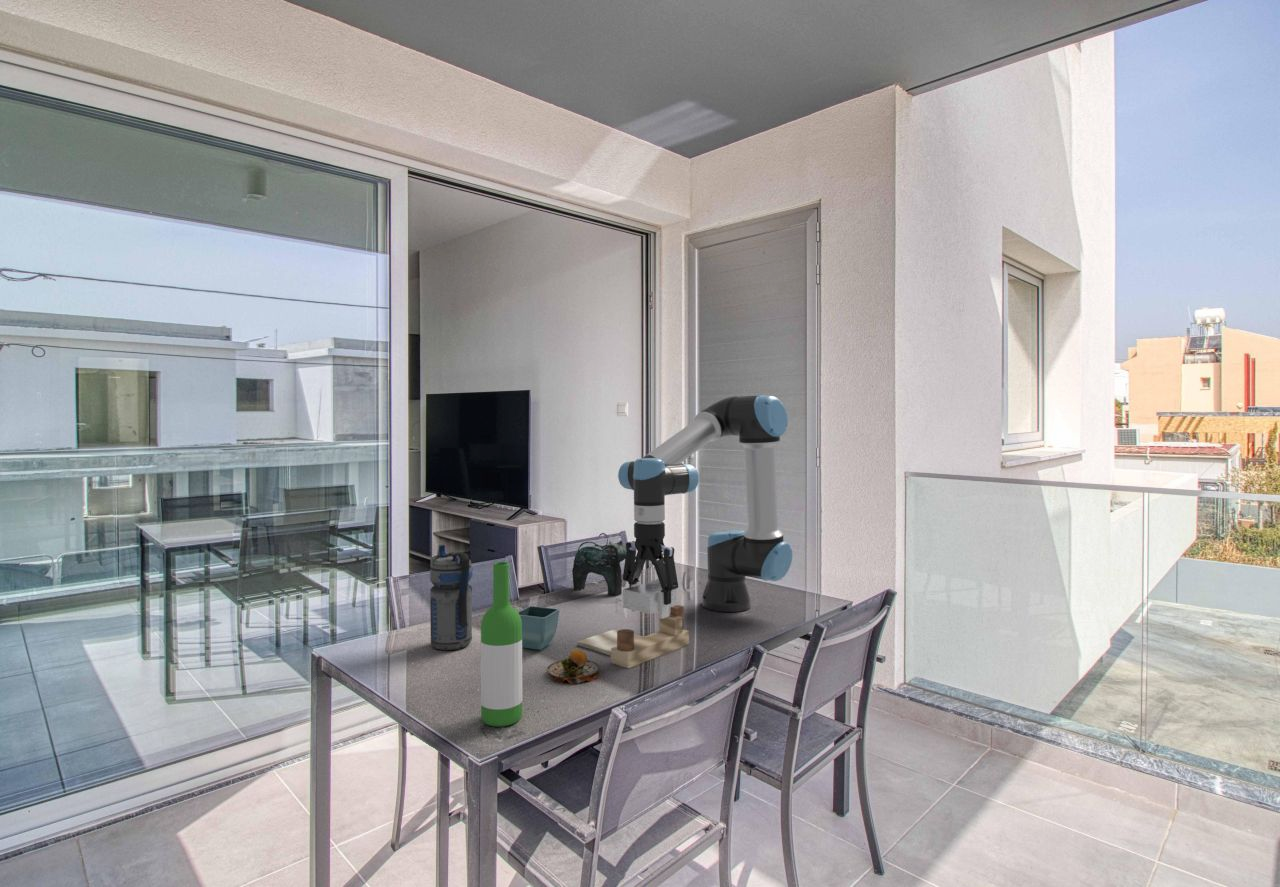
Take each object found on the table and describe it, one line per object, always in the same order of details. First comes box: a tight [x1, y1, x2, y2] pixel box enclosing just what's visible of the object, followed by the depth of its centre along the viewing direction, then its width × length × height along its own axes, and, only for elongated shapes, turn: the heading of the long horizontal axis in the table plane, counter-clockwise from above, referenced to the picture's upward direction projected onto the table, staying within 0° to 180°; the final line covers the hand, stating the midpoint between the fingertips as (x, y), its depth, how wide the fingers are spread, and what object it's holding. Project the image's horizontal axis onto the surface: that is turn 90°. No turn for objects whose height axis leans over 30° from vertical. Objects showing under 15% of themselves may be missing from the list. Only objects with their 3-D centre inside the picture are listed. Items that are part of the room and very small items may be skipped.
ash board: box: [577, 628, 644, 657], centre depth 174 cm, size 14×12×1 cm
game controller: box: [571, 532, 626, 597], centre depth 227 cm, size 20×6×20 cm, turn 58°
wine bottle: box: [480, 561, 523, 727], centre depth 129 cm, size 8×8×30 cm
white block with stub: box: [622, 579, 677, 615], centre depth 166 cm, size 10×8×6 cm
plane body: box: [610, 604, 690, 669], centre depth 167 cm, size 23×6×10 cm, turn 138°
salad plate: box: [547, 647, 601, 685], centre depth 153 cm, size 12×12×8 cm
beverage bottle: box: [429, 544, 474, 651], centre depth 172 cm, size 10×13×25 cm
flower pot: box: [517, 605, 560, 651], centre depth 172 cm, size 9×9×9 cm
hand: (650, 613), depth 166 cm, fingers closed on white block with stub, 8 cm apart
